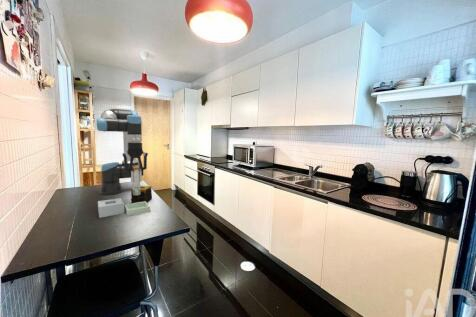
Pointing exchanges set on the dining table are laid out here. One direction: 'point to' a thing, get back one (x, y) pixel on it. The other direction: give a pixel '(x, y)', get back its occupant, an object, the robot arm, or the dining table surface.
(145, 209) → the tray
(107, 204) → the block
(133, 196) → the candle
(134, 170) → the pin
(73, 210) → the dining table surface
